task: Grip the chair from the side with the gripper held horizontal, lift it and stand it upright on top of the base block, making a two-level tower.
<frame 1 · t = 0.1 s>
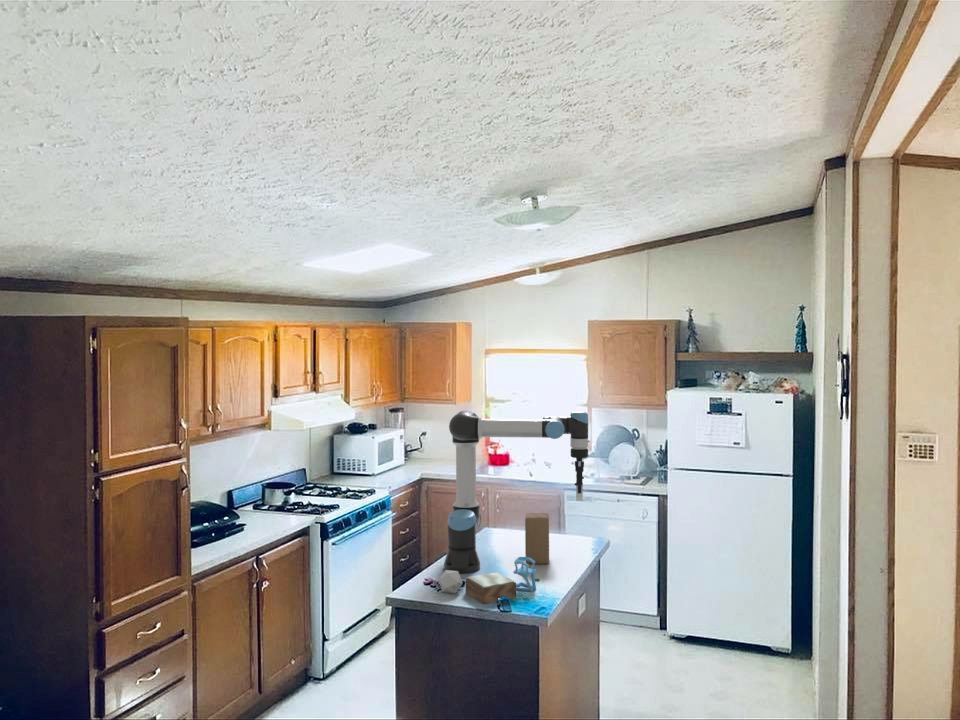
hand: (579, 497, 328), 28 cm above the worktop, tool pointing down, fingers open, 13 cm apart
chair: (525, 589, 294), on the worktop
block: (537, 561, 330), on the worktop
die: (450, 592, 292), on the worktop
base block: (490, 595, 287), on the worktop
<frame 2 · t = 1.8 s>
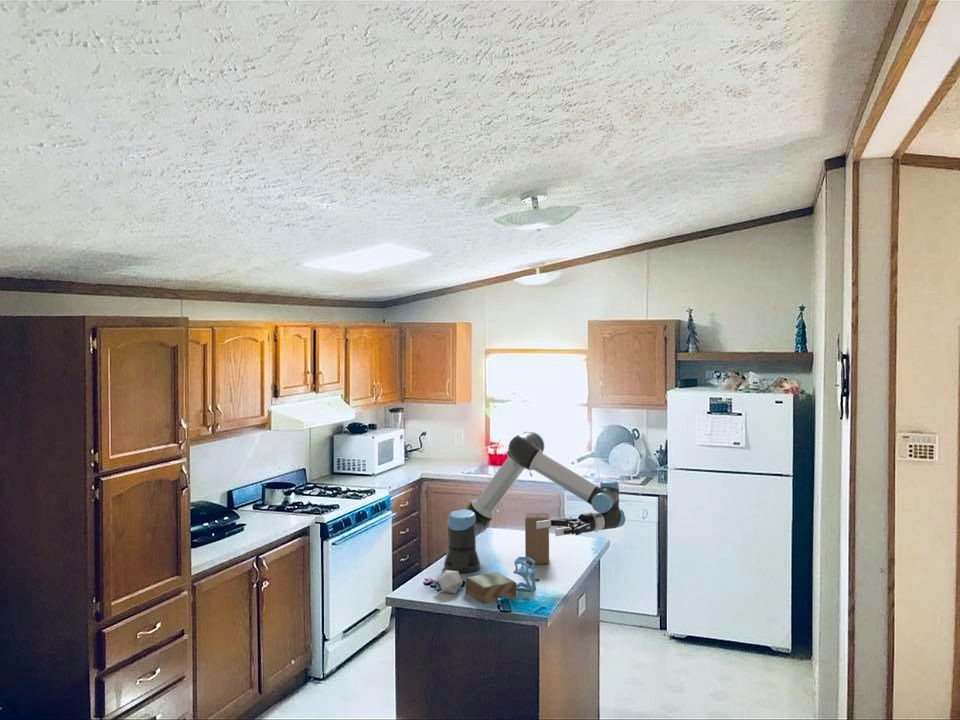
hand: (546, 528, 298), 22 cm above the worktop, tool horizontal, fingers open, 13 cm apart
nothing on the worktop moved.
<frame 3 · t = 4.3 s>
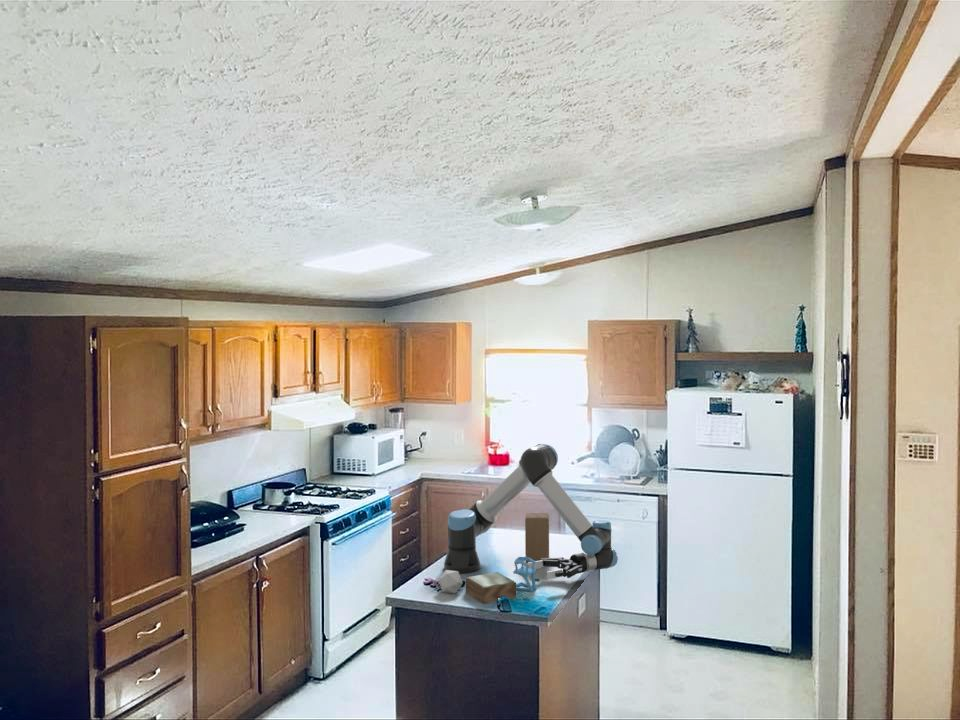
hand: (537, 570, 296), 6 cm above the worktop, tool horizontal, fingers open, 13 cm apart
nothing on the worktop moved.
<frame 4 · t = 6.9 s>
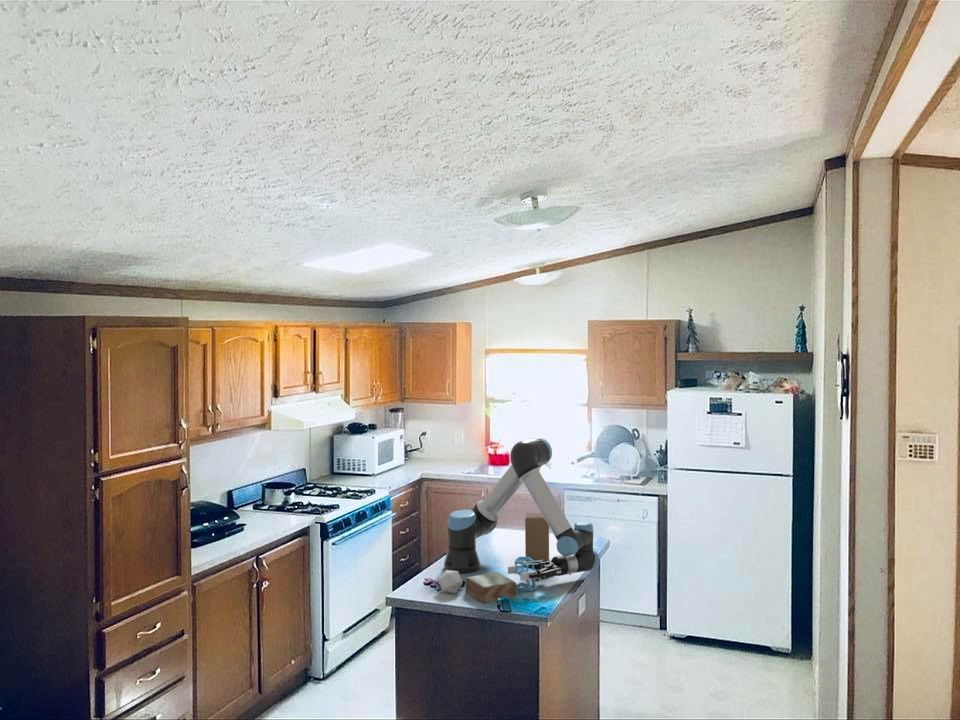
hand: (514, 573, 292), 7 cm above the worktop, tool horizontal, fingers closed on chair, 9 cm apart
chair: (525, 589, 294), on the worktop, touching gripper
everything else where it was.
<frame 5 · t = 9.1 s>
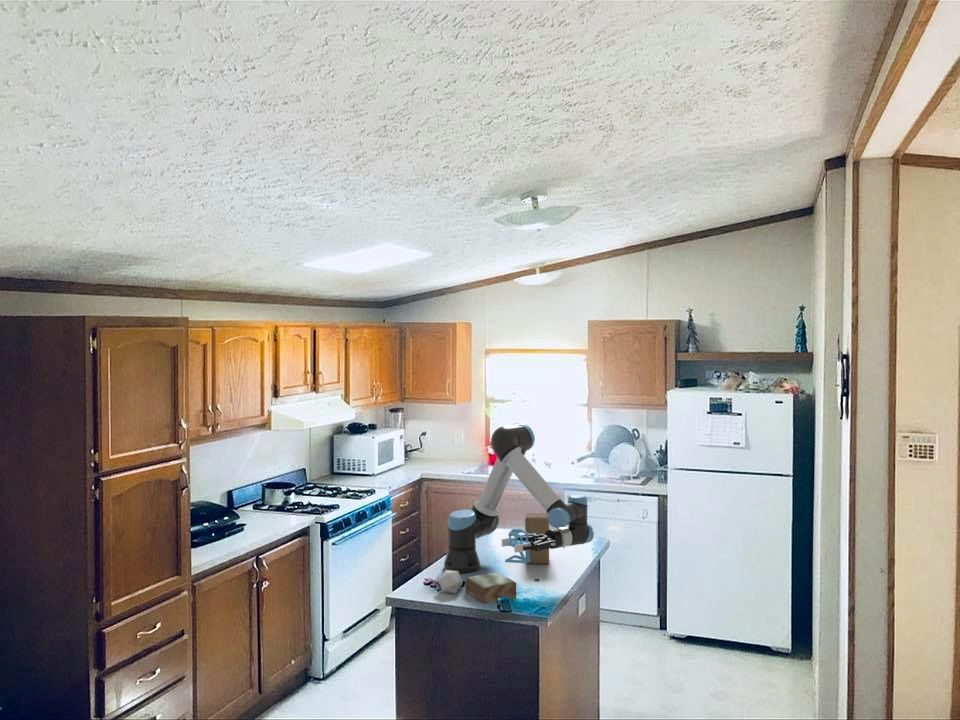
hand: (508, 545, 289), 18 cm above the worktop, tool horizontal, fingers closed on chair, 9 cm apart
chair: (519, 561, 292), point 11 cm above the worktop, touching gripper
everything else where it was.
when the fingers open (14 cm above the worktop, at t = 11.7 s): chair drops 1 cm, resting on base block.
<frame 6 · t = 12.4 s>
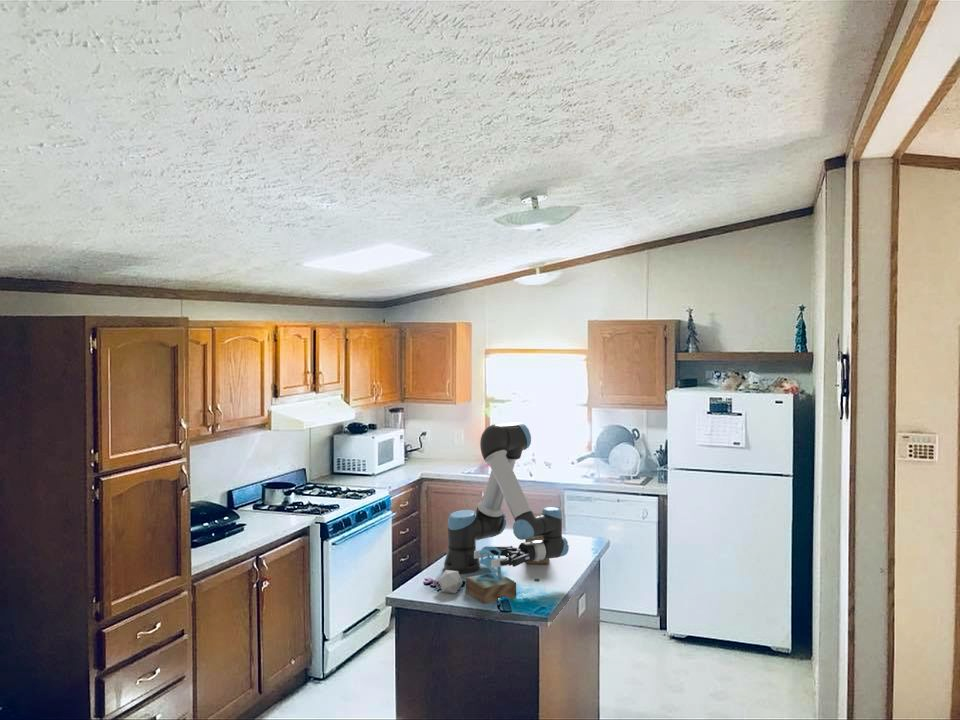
hand: (482, 559, 285), 14 cm above the worktop, tool horizontal, fingers open, 13 cm apart
chair: (490, 579, 287), point 6 cm above the worktop, touching base block
everything else where it was.
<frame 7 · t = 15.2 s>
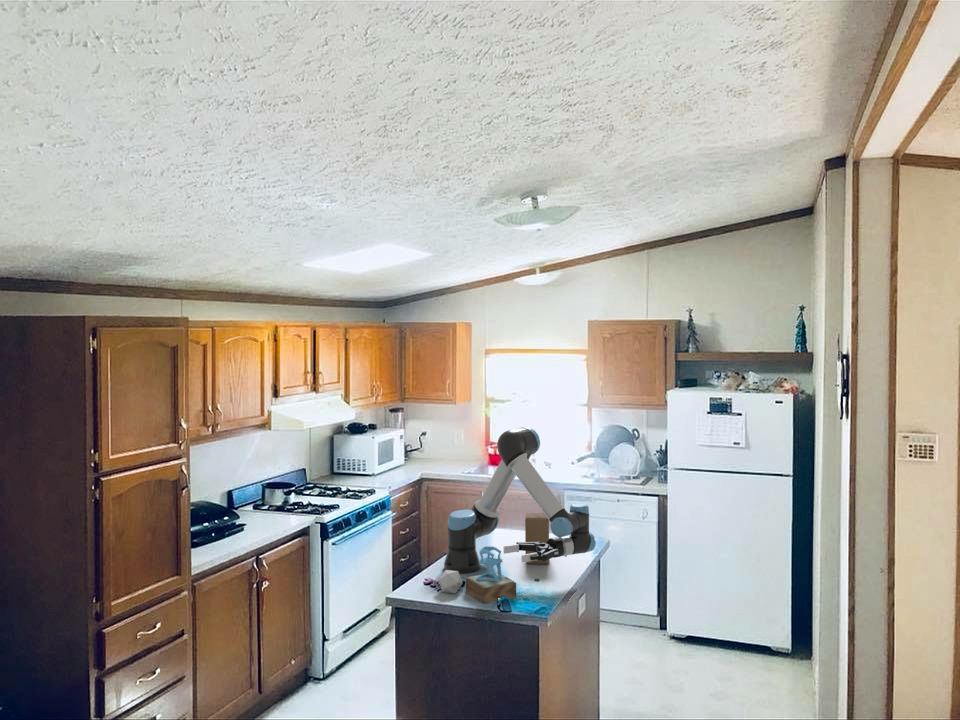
hand: (512, 554, 291), 14 cm above the worktop, tool horizontal, fingers open, 13 cm apart
nothing on the worktop moved.
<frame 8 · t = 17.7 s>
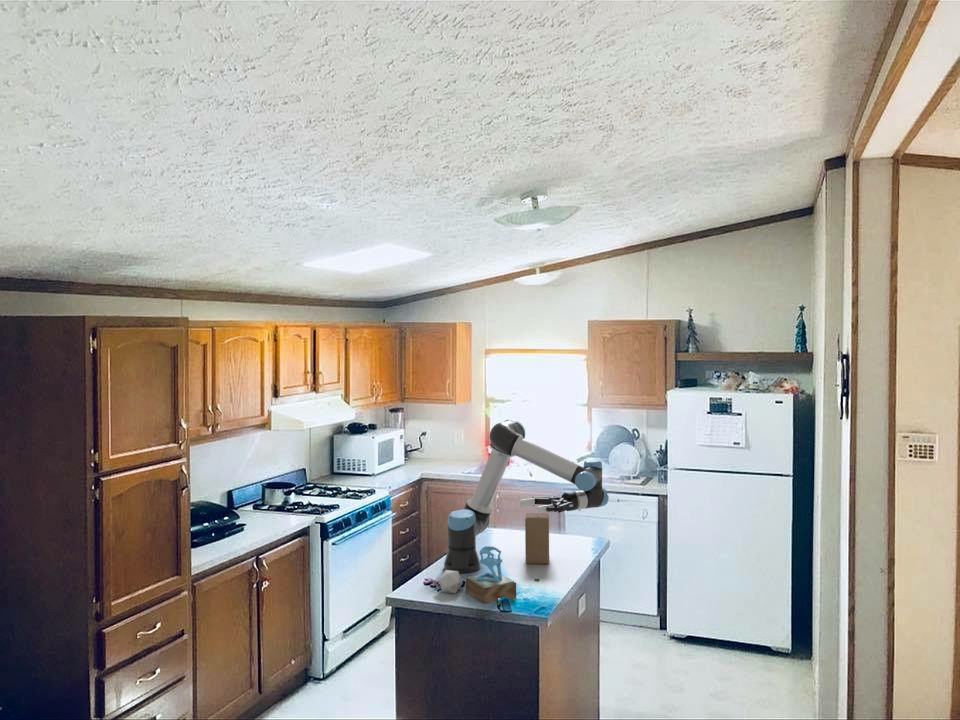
hand: (529, 506, 301), 30 cm above the worktop, tool horizontal, fingers open, 13 cm apart
nothing on the worktop moved.
at the end: chair inside the target area on the base block (0.1 cm from its centre), point 5.8 cm above the base block's base; chair tilted 0°; the gripper is holding nothing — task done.
